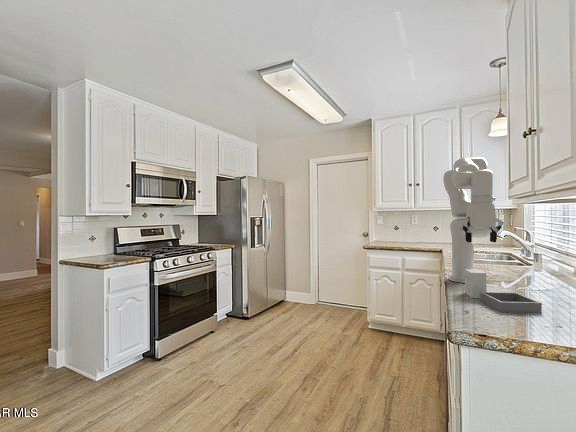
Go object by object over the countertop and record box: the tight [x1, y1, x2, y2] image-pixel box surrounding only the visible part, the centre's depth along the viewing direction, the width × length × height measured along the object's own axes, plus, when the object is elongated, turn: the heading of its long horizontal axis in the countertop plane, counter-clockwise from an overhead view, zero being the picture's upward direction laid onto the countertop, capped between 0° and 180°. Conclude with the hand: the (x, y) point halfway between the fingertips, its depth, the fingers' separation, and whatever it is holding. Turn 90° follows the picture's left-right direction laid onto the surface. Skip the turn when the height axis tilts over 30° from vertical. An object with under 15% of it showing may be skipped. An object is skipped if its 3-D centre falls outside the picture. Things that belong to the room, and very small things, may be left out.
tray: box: [479, 291, 543, 314], centre depth 116 cm, size 14×14×4 cm
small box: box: [464, 269, 487, 299], centre depth 130 cm, size 8×6×10 cm
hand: (480, 242), depth 128 cm, fingers open, 9 cm apart
